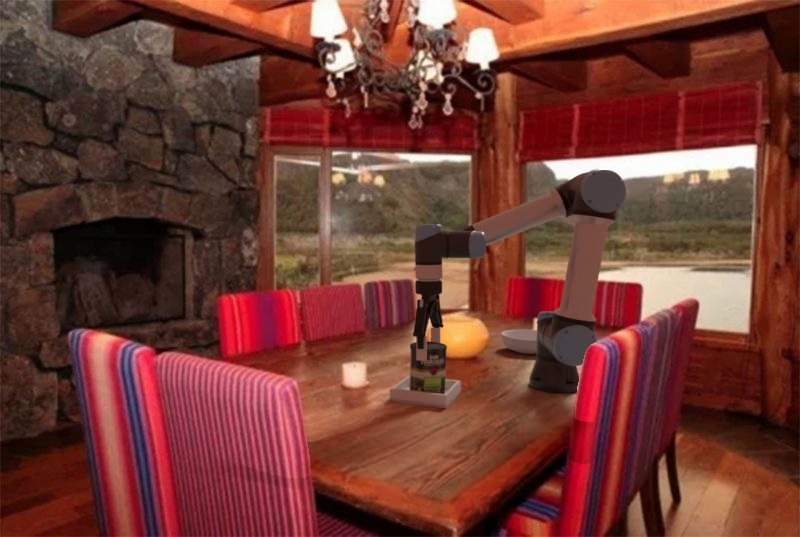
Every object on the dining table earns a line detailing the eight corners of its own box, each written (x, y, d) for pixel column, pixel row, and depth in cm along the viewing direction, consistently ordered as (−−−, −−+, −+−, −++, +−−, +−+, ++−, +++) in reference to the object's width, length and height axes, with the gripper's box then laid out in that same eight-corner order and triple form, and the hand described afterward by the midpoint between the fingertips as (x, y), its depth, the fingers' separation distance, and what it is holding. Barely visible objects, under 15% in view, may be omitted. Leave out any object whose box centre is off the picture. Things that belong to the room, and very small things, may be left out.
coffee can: (450, 398, 161) (452, 348, 160) (415, 400, 158) (416, 349, 157) (438, 388, 171) (439, 340, 169) (404, 390, 168) (405, 341, 167)
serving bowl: (496, 355, 220) (497, 337, 220) (505, 344, 240) (505, 328, 240) (553, 360, 214) (554, 341, 213) (557, 348, 233) (558, 331, 233)
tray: (460, 392, 169) (460, 380, 169) (446, 408, 154) (446, 395, 154) (408, 386, 175) (408, 375, 174) (389, 401, 160) (389, 388, 159)
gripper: (428, 275, 175) (428, 345, 177) (400, 283, 152) (401, 364, 153) (453, 276, 173) (452, 347, 174) (428, 284, 149) (428, 366, 151)
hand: (428, 355), depth 164 cm, fingers open, 13 cm apart
